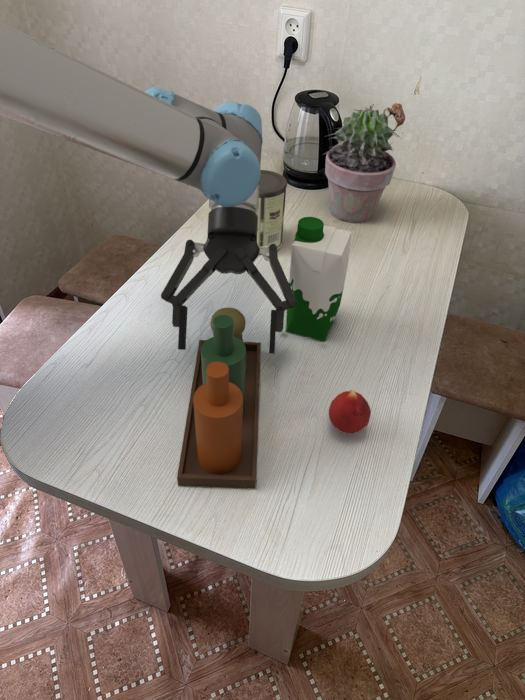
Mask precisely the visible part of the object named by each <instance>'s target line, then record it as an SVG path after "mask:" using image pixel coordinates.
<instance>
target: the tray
mask: <svg viewBox="0 0 525 700" xmlns="http://www.w3.org/2000/svg"><path fill="white" fill-rule="evenodd" d="M206 340H207V339H199V340H198V346H197V352H196V359H195V364H194V371H193V375H192V376H193V377H192V383H191V389H190V394H189V402H188V406H187V413H186V420H185V426H184V432H183V439H182V444H181V449H180V450H181V451H180V457H179V463H178V468H177V469H178V470H177V475H176V481H177V486H178V487H192V488H193V487H194V488H217V489H218V488H219V489H243V490H244V489H246V490H256V489H257V474H258V473H257V472H258V470H257V468H258V440H259V436H258V435H259V414H260V413H259V410H260V383H261V382H260V380H261V379H260V377H261V376H260V375H261V350H262V349H261V347H262V346H261V345H262V343H261V342H260V341H259V342H258V341H243V343H244V345H245V347H246V363H247V370H246V372H245V406H244V412H243V421H242V457H241V461H240V463H239V465H238V466H237V467H236V468H235V469H234V470H233V471H231V472H229V473H226V474H212V473H209V472H207V471H206V470H204V469H203V468H202V467H201V465H200V464H199V461H198V454H197V442H196V429H195V416H194V404H193V397H194V394H195V392H196V390H197V389H198V388H199V387H200V386H201V385H203V380H202V363H201V347H202V345H203V343H204V342H205V341H206Z"/></svg>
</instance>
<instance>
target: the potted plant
mask: <svg viewBox="0 0 525 700" xmlns="http://www.w3.org/2000/svg"><path fill="white" fill-rule="evenodd" d="M373 107H374V103H372V105H370V106H369V108H368V107H366V106H365V109H354V108H353V110H354V111H352V112H351V115H350V116H347V117H343V122H342V124H343V125H342V127H336V128H334V130H337V131H335V132H334V133H331V134H328V135H327V137H329V136H333V135H335V136H333V137H330V138H328V140H331V139H334V140H336V141H337V144H335V145H331V148H330V150H328V151H326V152H324V153H322V156H324V155H326V156H325V164H324V167H325V168H324V174H325V176H326V178H327V181H328V182H327V183H328V184H327V185H328V195H329V197H328V198H329V207H330V211H331V215H332V216H333V217H334V218H335V219H338V220H340V221H343V222H349V223H352V224H353V223H354V224H355V223H356V224H357V223H363V222H366V221H368V220H370V219H372V218H371V217H372V215H373V214H374V211H375V210H376V207H377V205H378V203H379V202H380V199H381V197H382V195H383V193H384V190H385V189H386V187H387V186H389V185H390V184H391V181H392V179H393V175H394V172H395V169H396V167H397V163H396V160H395V158H394V157H393V156H392V154H390V153H389V152H387V151H393V152H394V150H393V147H392V146H391V145H392V144H393V143H394V141H392V142H391V143H390V142H389V139H391V138H392V136H395V137H396V138H400V139H402V137H400V135H398V134H397V133H396V130H397V128H398V127H401V126H402V125H404V122H405V120H406V114H405V112H404V109H403V104H401V103H397V102H395V103H392V105H391V107H386V108H385V109H384V110H383V112H382V113H380V110H379V109H376V110H374V109H373ZM356 111H357V112H356ZM386 113H388V115H386ZM391 115H392V117H393V118H394V120H395V124H396V125H395V127H394V129H393V128H391V127H390V126H389V117H390V116H391ZM327 130H331V128H329V129H328V128H327ZM325 137H326V135H325V136H324V138H325ZM322 140H324V139H322ZM316 155H318V153H317V154H315V156H316Z"/></svg>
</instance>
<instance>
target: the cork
mask: <svg viewBox="0 0 525 700" xmlns="http://www.w3.org/2000/svg"><path fill="white" fill-rule="evenodd" d="M218 315H228V316H230V317H231V318H232V319H233V336H234V337H236V338H238V339H240V340H241V341H242V342H244V338H243V333H244V331H245V329H246V318H245V315H244V314H243V312H241V310H239V309H238V308H234V307H228V306H227V307H222V308H219V309H217V310H216V311H215V312H213V314H212V315H211V318H210V328H211V331H212V332H213V319H214V318H215V317H216V316H218ZM246 370H247V363H246ZM246 370H245V372H246Z"/></svg>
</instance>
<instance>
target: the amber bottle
mask: <svg viewBox="0 0 525 700" xmlns="http://www.w3.org/2000/svg"><path fill="white" fill-rule="evenodd" d="M206 381H207V383H204V384H203V385H201V386H200V387H199V388H198V389H197V390H196V392H195V394H194V397H193V404H194V416H195V429H196V442H197V454H198V461H199V464H200V465H201V467H202V468H203V469H204V470H206V471H207V472H209V473H212V474H226V473H229V472H231V471H233V470H234V469H235V468H236V467H237V466H238V465H239V463H240V461H241V457H242V421H243V395H242V392H241V390H240V389H239V388H238V387H237V386H236V385H235V384H233V383H231V382H229V368H228V366H227V365H226V364H225V363H223V362H212V363H210V364H209V365H208V366H207V368H206Z"/></svg>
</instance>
